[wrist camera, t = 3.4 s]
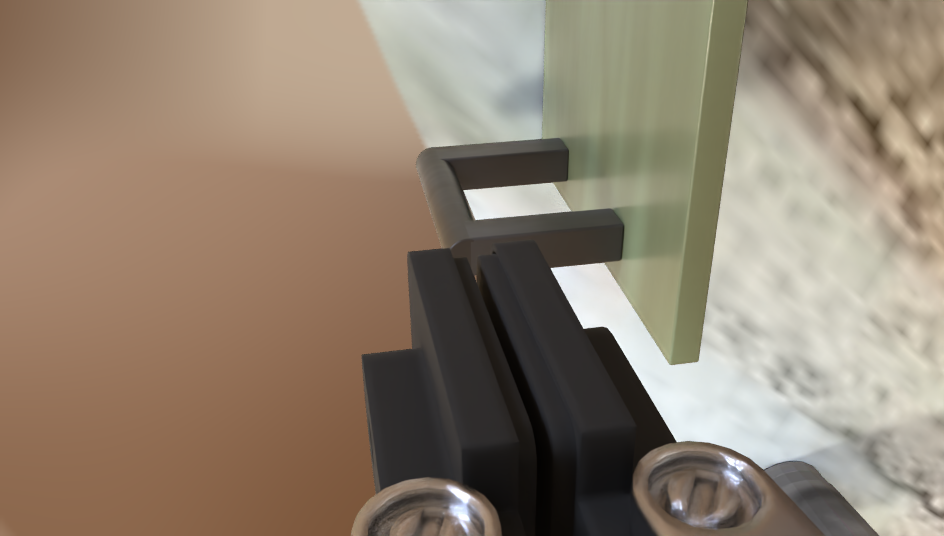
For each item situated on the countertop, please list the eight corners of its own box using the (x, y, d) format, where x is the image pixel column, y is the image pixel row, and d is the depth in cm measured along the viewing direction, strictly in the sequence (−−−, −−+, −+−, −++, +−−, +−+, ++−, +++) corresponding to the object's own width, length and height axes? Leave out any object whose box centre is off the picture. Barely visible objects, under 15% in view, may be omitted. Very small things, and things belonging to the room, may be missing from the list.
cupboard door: (409, 175, 33) (472, 389, 22) (385, -288, 26) (459, -339, 14) (561, 162, 34) (699, 362, 22) (578, -289, 27) (796, -338, 15)
